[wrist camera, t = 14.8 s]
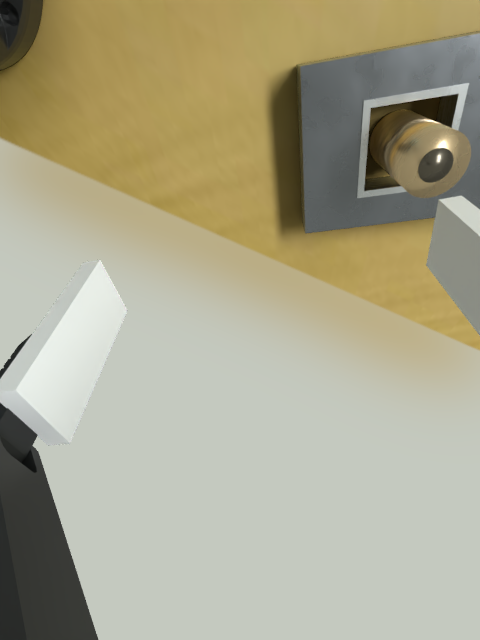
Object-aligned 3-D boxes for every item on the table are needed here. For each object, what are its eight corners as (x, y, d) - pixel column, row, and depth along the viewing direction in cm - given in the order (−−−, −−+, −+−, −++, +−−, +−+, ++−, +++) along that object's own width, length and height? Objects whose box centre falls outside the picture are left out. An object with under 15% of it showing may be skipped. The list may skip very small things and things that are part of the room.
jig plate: (296, 64, 28) (300, 66, 26) (528, 21, 26) (556, 19, 24) (302, 221, 37) (305, 233, 35) (476, 199, 35) (492, 210, 32)
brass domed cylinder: (371, 114, 30) (406, 134, 23) (427, 105, 30) (480, 123, 23) (367, 169, 33) (397, 202, 26) (417, 162, 33) (462, 193, 26)
